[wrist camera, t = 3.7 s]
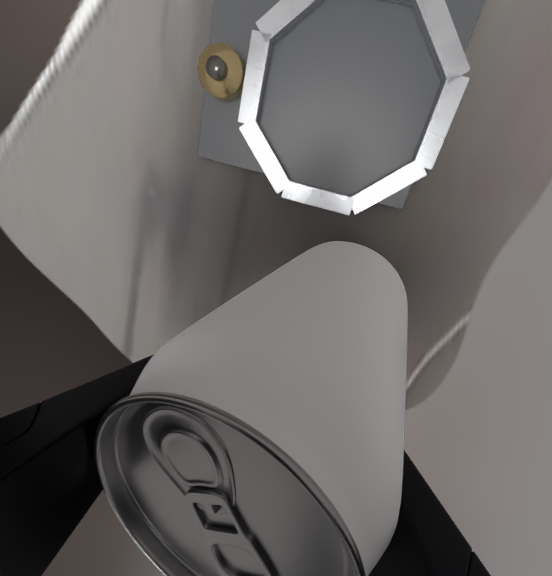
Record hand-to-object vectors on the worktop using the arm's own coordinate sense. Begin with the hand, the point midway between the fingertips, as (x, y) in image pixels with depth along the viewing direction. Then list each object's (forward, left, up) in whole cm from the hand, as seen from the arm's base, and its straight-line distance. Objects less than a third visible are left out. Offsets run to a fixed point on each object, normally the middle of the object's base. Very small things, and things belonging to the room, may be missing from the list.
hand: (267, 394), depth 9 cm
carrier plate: (+10, +2, -13) cm, 16 cm away
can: (0, -2, -8) cm, 8 cm away
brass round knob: (+10, +7, -13) cm, 18 cm away
